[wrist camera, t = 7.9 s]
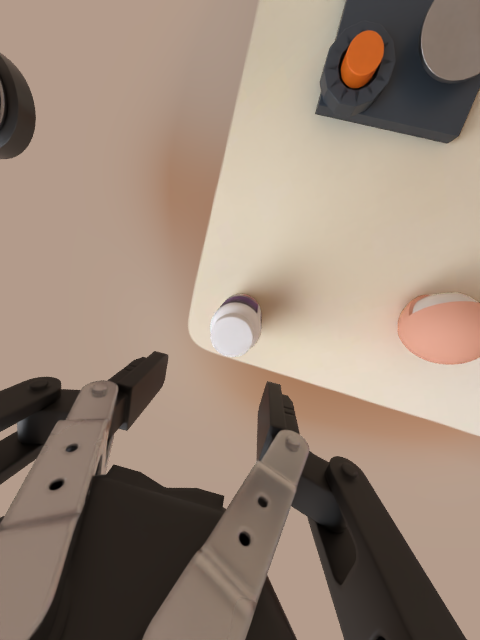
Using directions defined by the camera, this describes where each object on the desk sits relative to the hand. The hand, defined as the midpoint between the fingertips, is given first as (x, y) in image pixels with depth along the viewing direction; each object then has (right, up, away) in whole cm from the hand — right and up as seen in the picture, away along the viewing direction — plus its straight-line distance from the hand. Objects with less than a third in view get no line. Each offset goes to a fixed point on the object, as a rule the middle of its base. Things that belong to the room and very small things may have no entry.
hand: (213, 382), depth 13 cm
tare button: (+12, +26, +7) cm, 30 cm away
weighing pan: (+20, +28, +6) cm, 35 cm away
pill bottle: (+2, +4, +17) cm, 18 cm away
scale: (+17, +28, +9) cm, 34 cm away
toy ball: (+24, +4, +15) cm, 28 cm away
